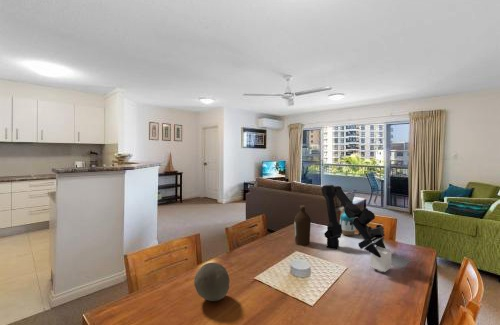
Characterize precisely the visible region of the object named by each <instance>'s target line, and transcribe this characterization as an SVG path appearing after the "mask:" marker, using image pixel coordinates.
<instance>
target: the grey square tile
mask: <svg viewBox="0 0 500 325" xmlns="http://www.w3.org/2000/svg"><path fill="white" fill-rule="evenodd" d="M410 262H412V260H411V259H407V258H404V257H402V256H397V255H394V254H391V266H393V267H395V268H399V269H403V268H404V267H406V266H407V265H408V264H409V263H410Z"/></svg>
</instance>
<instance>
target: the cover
mask: <svg viewBox="0 0 500 325" xmlns="http://www.w3.org/2000/svg"><path fill="white" fill-rule="evenodd" d="M375 247H376V249H377V250H378V252H379V254H380V255H381V257H380V258H379V257H377V256H376V255H374V254H372V253H371V252H370V262H369V264H370V265H369V266H370V267H371V268H373V269H378V270H381V271H384V272H383V273H386V272H387V271H389V270H390V269H392V265H391V255H392V254H393V253H392V249H389V248H387V247H386V248H382V247H379V246H376V245H375Z"/></svg>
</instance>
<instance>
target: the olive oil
mask: <svg viewBox="0 0 500 325" xmlns="http://www.w3.org/2000/svg"><path fill="white" fill-rule="evenodd" d="M293 219H294V220H293V221H294V222H293V224H294V243H295V244H296V245H298V246H302V247H303V246H309V245H310V242H311V240H310V239H311V223H312V222H311V221H312V220H311V216H310V215H309V214H308V213H307V212H306V206H305V205H299V212H297V213H296V215H295V216H294V218H293Z"/></svg>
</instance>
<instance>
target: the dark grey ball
mask: <svg viewBox="0 0 500 325" xmlns="http://www.w3.org/2000/svg"><path fill="white" fill-rule="evenodd" d="M193 281H194V282H193V284H194V288H195V290H196V292H197V294H198V296H200V297H201V298H202V299H204V300H207V301H208V302H209V301H210V302H219V301H220V300H222V299H224V298H225V297H226V296H227V294H228V293H229V290H230V282H231V281H230V276H229V273H228V271H227V268H226V267H225V266H223V265H222V264H221V263H218V262H208V263H207V262H206V263H205V264H203V265H202V266H201V267H199V269H198V270H197V271H196V274H195V275H194V280H193Z"/></svg>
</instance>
